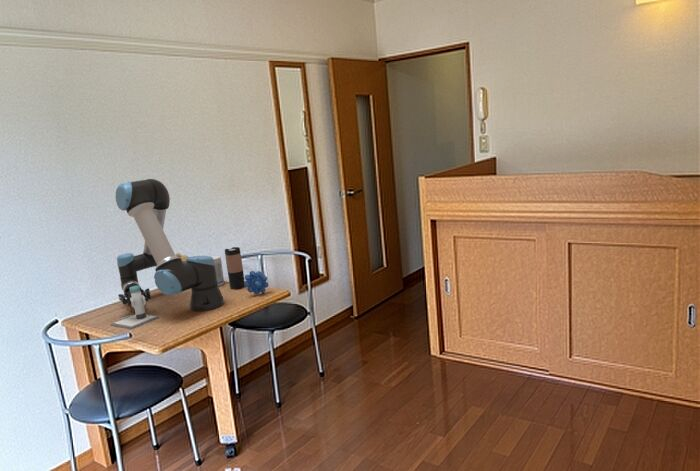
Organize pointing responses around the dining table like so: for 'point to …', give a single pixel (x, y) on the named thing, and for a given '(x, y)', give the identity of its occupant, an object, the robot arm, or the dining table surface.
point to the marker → (138, 302)
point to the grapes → (256, 282)
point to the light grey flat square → (133, 321)
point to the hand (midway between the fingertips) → (138, 303)
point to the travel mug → (234, 268)
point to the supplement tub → (218, 270)
